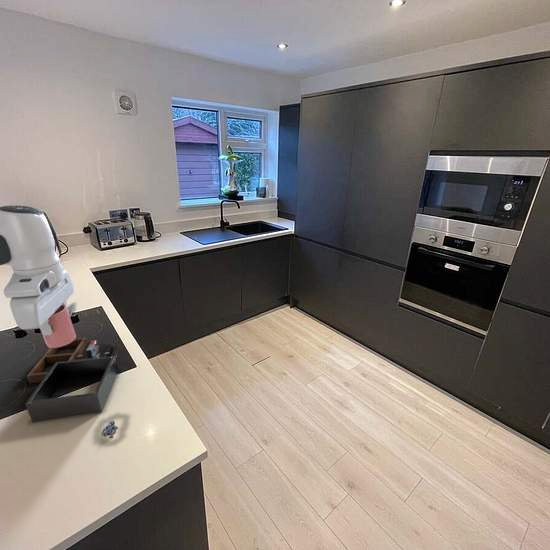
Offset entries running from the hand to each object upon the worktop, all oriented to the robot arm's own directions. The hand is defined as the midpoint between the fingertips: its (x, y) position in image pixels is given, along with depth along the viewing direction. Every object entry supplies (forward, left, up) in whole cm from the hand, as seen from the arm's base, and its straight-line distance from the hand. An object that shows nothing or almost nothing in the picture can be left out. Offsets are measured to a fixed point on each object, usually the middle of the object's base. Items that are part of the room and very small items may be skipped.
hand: (56, 325), depth 74 cm
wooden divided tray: (-9, +13, -22) cm, 27 cm away
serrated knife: (-19, +40, -22) cm, 49 cm away
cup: (0, 0, -5) cm, 5 cm away
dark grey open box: (+2, -3, -22) cm, 22 cm away
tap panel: (+1, +12, -22) cm, 25 cm away
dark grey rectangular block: (+1, +12, -18) cm, 22 cm away
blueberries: (+14, -17, -22) cm, 31 cm away
